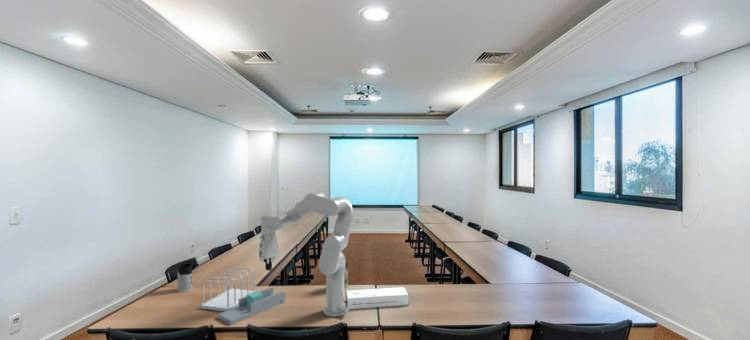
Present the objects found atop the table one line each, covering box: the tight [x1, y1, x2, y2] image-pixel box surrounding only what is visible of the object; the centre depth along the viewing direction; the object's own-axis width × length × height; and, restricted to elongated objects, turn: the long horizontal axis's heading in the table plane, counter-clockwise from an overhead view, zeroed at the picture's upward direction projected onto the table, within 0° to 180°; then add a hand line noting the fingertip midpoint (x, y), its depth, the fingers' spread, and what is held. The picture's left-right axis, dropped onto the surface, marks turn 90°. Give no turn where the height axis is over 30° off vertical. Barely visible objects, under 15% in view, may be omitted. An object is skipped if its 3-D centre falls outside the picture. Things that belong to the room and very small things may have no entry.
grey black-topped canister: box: [176, 263, 204, 293], centre depth 204 cm, size 9×14×15 cm, turn 118°
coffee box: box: [344, 260, 349, 289], centre depth 204 cm, size 9×6×16 cm
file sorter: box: [200, 266, 256, 312], centre depth 186 cm, size 25×17×16 cm
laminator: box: [345, 286, 410, 310], centre depth 183 cm, size 34×12×6 cm, turn 98°
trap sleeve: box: [217, 286, 286, 326], centre depth 174 cm, size 12×32×6 cm, turn 144°
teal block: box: [247, 290, 263, 307], centre depth 175 cm, size 6×6×6 cm
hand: (268, 269), depth 182 cm, fingers closed
